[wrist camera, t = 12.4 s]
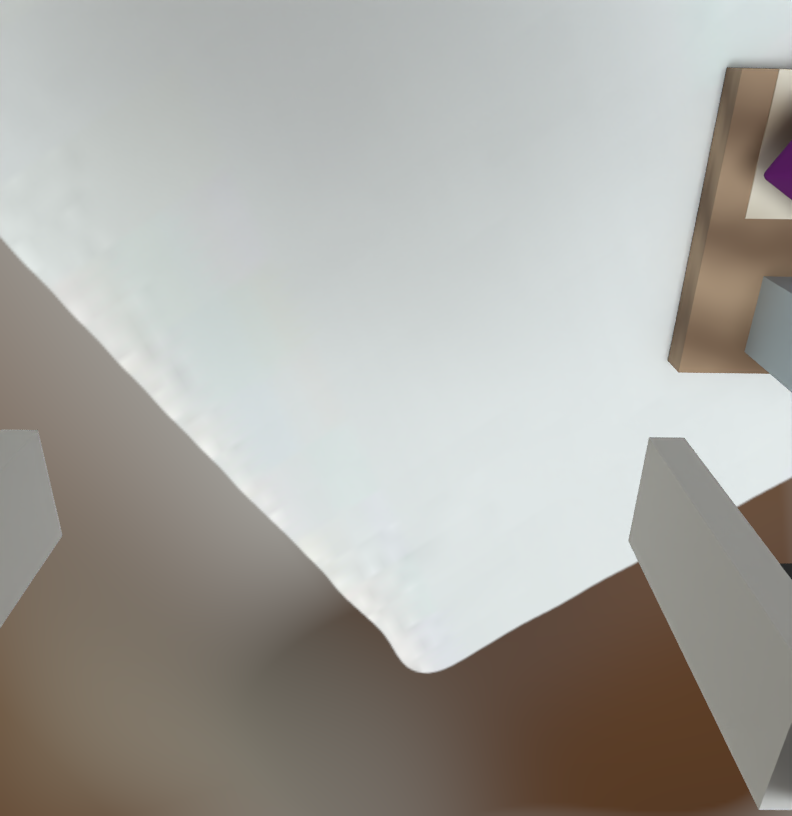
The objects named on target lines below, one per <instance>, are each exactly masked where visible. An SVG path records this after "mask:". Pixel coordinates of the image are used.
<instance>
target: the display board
mask: <svg viewBox="0 0 792 816" xmlns="http://www.w3.org/2000/svg"><path fill="white" fill-rule="evenodd" d="M791 140H792V69H771V68H727V70H726V75H725V80H724V85H723V90H722V95H721V100H720V105H719V110H718V115H717V120H716V125H715V130H714V135H713V139H712V144H711V149H710V154H709V159H708V164H707V169H706V174H705V179H704V184H703V189H702V194H701V199H700V204H699V209H698V214H697V219H696V224H695V229H694V234H693V239H692V244H691V249H690V254H689V259H688V264H687V268H686V273H685V278H684V283H683V288H682V293H681V298H680V303H679V308H678V313H677V318H676V323H675V328H674V333H673V338H672V343H671V348H670V353H669V358H668V361H669V362H670V363H671V365H672V366H673V367H674V368H675V369H676V370H677V371H678V372H688V373H764V374H770V373H769V372H767V371H766V370H765V369H764V368H763V367H762V366H760V365H759V364H758V363H757V362H756V361H755V360H753V359H752V358H751V357H750V356H749V355H748V354H746V353H745V348H746V344H747V340H748V336H749V332H750V328H751V324H752V320H753V316H754V312H755V308H756V304H757V300H758V296H759V292H760V288H761V284H762V280H763V276H773V277H792V200H791V199H790V198H788V197H787V196H786V195H785V194H783V193H782V192H781V191H780V190H778V189H777V188H776V187H775V186H773V185H772V184H771V183H769V182H768V181H767V180H766V179H765V178H764V173H765V171H766V170H767V169H768V167H769V166H770V165H771V164H772V163H773V162H774V160H775V159H776V158H777V157H778V156H779V154H780V153H781V152H782V151H783V150H784V148H785V147H786V146H787V145H788V144H789V142H790V141H791Z"/></svg>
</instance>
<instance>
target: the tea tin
mask: <svg viewBox="0 0 792 816" xmlns="http://www.w3.org/2000/svg"><path fill="white" fill-rule="evenodd" d="M745 353H746V354H748V355H749V356H750V357H751V358H752V359H753V360H755V361H756V362H757V363H758V364H759V365H760V366H762V367H763V368H764V369H765V370H766V371H767V372H769V373H770V374H771V375H772V376H773V377H774V378H776V379H777V380H778V381H779V382H780V383H782V384H783V385H784V386H785V387H786V388H787V389H789V390H790V391H791V392H792V277H773V276H763V280H762V284H761V288H760V292H759V296H758V300H757V304H756V308H755V312H754V316H753V320H752V324H751V328H750V332H749V336H748V340H747V344H746V348H745Z"/></svg>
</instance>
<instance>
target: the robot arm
mask: <svg viewBox="0 0 792 816" xmlns="http://www.w3.org/2000/svg"><path fill="white" fill-rule="evenodd" d="M61 537H62V532H61V528H60V523H59V519H58V515H57V510H56V506H55V502H54V497H53V493H52V489H51V484H50V480H49V476H48V471H47V467H46V463H45V458H44V454H43V450H42V445H41V441H40V437H39V433H38V430H1V431H0V627H1V626H2V624H3V623H4V621H5V620H6V618H7V617H8V615H9V614H10V612H11V611H12V609H13V608H14V607H15V605H16V604H17V602H18V600H19V599H20V598H21V596H22V595H23V593H24V592H25V590H26V589H27V587H28V586H29V584H30V582H31V581H32V580H33V578H34V576H35V575H36V574H37V572H38V571H39V569H40V568H41V566H42V565H43V563H44V562H45V560H46V559H47V557H48V556H49V555H50V553H51V551H52V550H53V549H54V547H55V545H56V544H57V543H58V541H59V540H60V538H61ZM629 543H630V545H631V547H632V549H633V551H634V553H635V556H636V558H637V560H638V562H639V564H640V566H641V568H642V570H643V572H644V574H645V576H646V578H647V580H648V582H649V584H650V586H651V588H652V591H653V593H654V595H655V597H656V599H657V601H658V603H659V605H660V607H661V609H662V611H663V613H664V615H665V617H666V619H667V621H668V623H669V626H670V627H671V630H672V632H673V634H674V636H675V638H676V640H677V642H678V644H679V646H680V648H681V650H682V652H683V654H684V656H685V659H686V661H687V663H688V665H689V667H690V669H691V671H692V673H693V675H694V677H695V679H696V681H697V683H698V685H699V687H700V690H701V692H702V694H703V696H704V698H705V700H706V702H707V704H708V706H709V708H710V710H711V712H712V714H713V716H714V718H715V720H716V722H717V725H718V726H719V729H720V731H721V733H722V735H723V737H724V739H725V741H726V743H727V745H728V747H729V749H730V751H731V753H732V755H733V757H734V760H735V762H736V763H737V766H738V768H739V770H740V772H741V774H742V776H743V778H744V780H745V782H746V784H747V786H748V788H749V791H750V792H751V795H752V797H753V799H754V801H755V803H756V805H757V807H758V809H759V810H792V564H779V562H778V561H777V560H776V558H775V557H774V556H773V554H772V553H771V552H770V550H769V549H768V548H767V547H766V545H765V544H764V543H763V541H762V540H761V539H760V538H759V536H758V535H757V533H756V532H755V531H754V529H753V528H752V527H751V525H750V524H749V523H748V521H747V520H746V519H745V518H744V516H743V515H742V513H741V512H740V511H739V509H738V508H737V507H736V506H735V504H734V503H733V502H732V500H731V499H730V498H729V496H728V495H727V494H726V492H725V491H724V490H723V488H722V487H721V486H720V484H719V483H718V482H717V480H716V479H715V478H714V476H713V475H712V474H711V473H710V471H709V470H708V469H707V467H706V466H705V465H704V463H703V462H702V461H701V459H700V458H699V457H698V455H697V454H696V453H695V451H694V450H693V449H692V447H691V446H690V445H689V443H688V442H687V441H686V439H685V438H659V437H649V440H648V445H647V450H646V455H645V460H644V465H643V470H642V475H641V480H640V485H639V490H638V495H637V500H636V505H635V510H634V515H633V520H632V525H631V530H630V535H629Z"/></svg>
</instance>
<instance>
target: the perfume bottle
mask: <svg viewBox="0 0 792 816" xmlns="http://www.w3.org/2000/svg"><path fill="white" fill-rule="evenodd" d="M764 178H765V179H766V180H767V181H768V182H769V183H771V184H772V185H773V186H775V187H776V188H777V189H778V190H780V191H781V192H782V193H783V194H785V195H786V196H787V197H788V198H790V199H791V200H792V140H791V141H790V142H789V144H788V145H787V146H786V147H785V148H784V150H783V151H782V152H781V153H780V154H779V156H778V157H777V158H776V159H775V160H774V162H773V163H772V164H771V165H770V166H769V167H768V169H767V170H766V171H765V173H764Z"/></svg>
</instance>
